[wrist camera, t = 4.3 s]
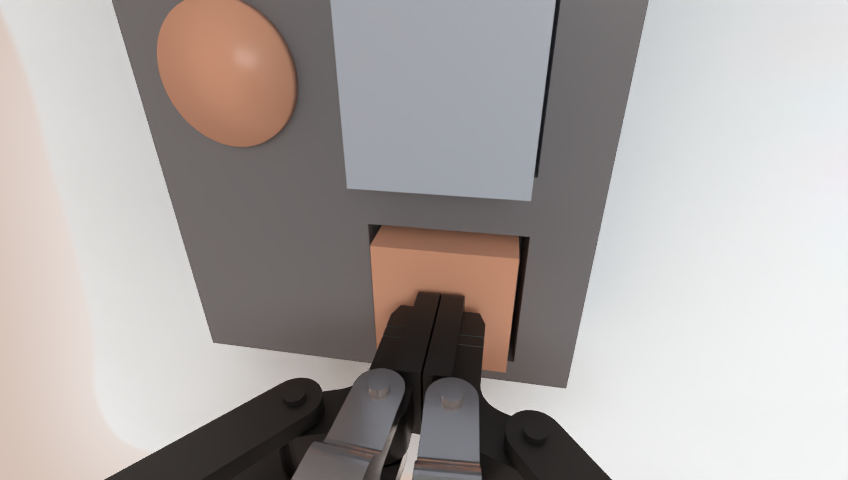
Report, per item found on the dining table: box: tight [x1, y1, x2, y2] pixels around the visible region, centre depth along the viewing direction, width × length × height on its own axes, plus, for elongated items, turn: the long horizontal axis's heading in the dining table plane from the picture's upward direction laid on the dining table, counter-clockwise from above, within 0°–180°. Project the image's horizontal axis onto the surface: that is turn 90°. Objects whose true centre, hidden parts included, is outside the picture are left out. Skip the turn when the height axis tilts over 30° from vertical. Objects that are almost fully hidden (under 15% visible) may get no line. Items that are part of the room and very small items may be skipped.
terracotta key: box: [370, 225, 519, 373], centre depth 16 cm, size 4×4×3 cm
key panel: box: [112, 0, 649, 388], centre depth 14 cm, size 21×14×4 cm, turn 0°
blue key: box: [330, 0, 556, 201], centre depth 11 cm, size 4×4×3 cm
